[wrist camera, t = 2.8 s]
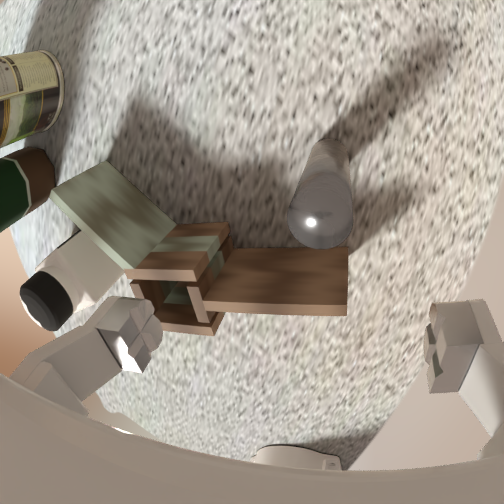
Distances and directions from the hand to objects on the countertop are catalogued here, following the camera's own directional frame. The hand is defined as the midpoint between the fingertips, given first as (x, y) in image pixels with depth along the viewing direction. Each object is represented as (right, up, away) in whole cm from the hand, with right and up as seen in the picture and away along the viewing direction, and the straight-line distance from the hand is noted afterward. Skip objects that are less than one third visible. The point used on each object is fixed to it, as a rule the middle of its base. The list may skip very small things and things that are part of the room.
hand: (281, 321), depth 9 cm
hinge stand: (-4, +5, +21) cm, 22 cm away
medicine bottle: (-20, +2, +28) cm, 34 cm away
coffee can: (-25, +20, +18) cm, 37 cm away
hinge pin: (+5, +9, +15) cm, 19 cm away
